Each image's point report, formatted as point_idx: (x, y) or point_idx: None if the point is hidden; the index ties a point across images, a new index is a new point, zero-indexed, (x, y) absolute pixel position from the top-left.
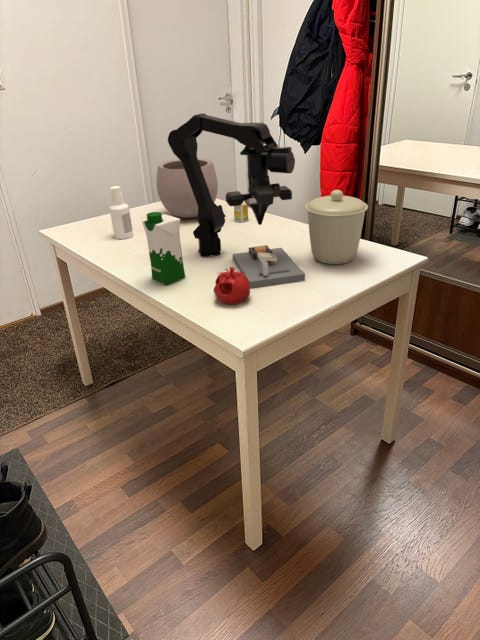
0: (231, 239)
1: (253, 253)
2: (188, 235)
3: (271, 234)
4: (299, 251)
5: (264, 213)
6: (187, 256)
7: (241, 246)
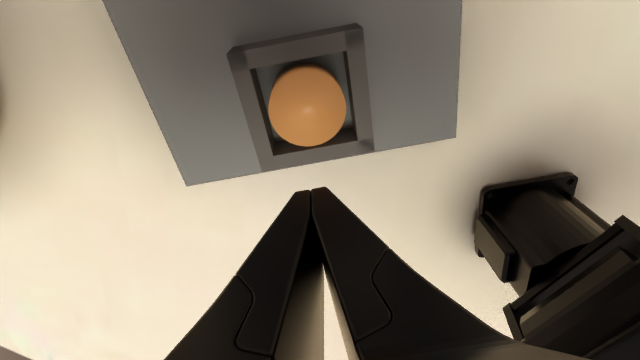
0: None
1: (360, 44)
2: None
3: None
4: (103, 181)
5: (236, 283)
6: (619, 194)
7: None
